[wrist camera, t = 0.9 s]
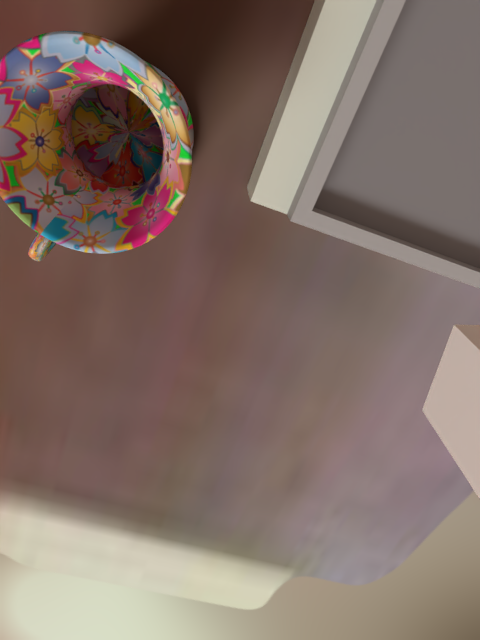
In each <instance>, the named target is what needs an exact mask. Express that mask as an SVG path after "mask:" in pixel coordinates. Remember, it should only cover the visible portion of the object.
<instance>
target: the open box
mask: <svg viewBox="0 0 480 640" xmlns="http://www.w3.org/2000/svg"><path fill="white" fill-rule="evenodd" d="M247 189H248V193H249V197H250V201H252V202H254V203H257V204H260V205H263V206H265V207H268V208H271V209H274V210H277V211H279V212H282V213H285V214H287V215H288V217H289V219H290V221H292V222H295V223H297V224H300V225H303V226H306V227H309V228H311V229H314V230H317V231H320V232H323V233H325V234H328V235H331V236H334V237H337V238H339V239H342V240H345V241H348V242H351V243H353V244H356V245H359V246H362V247H365V248H367V249H370V250H373V251H376V252H379V253H381V254H384V255H387V256H390V257H392V258H395V259H398V260H401V261H404V262H406V263H409V264H412V265H415V266H418V267H420V268H423V269H426V270H429V271H432V272H434V273H437V274H440V275H443V276H446V277H448V278H451V279H454V280H457V281H460V282H462V283H465V284H468V285H471V286H474V287H476V288H479V289H480V0H315V1H314V4H313V7H312V10H311V12H310V15H309V18H308V21H307V23H306V26H305V29H304V32H303V34H302V37H301V40H300V43H299V45H298V48H297V51H296V54H295V56H294V59H293V62H292V65H291V67H290V70H289V73H288V76H287V78H286V81H285V84H284V87H283V89H282V92H281V95H280V98H279V100H278V103H277V106H276V109H275V111H274V114H273V117H272V120H271V122H270V125H269V128H268V131H267V134H266V136H265V139H264V142H263V145H262V147H261V150H260V153H259V156H258V158H257V161H256V164H255V167H254V169H253V172H252V175H251V178H250V180H249V183H248V186H247Z"/></svg>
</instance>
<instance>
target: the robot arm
mask: <svg viewBox="0 0 480 640" xmlns="http://www.w3.org/2000/svg"><path fill="white" fill-rule="evenodd" d="M422 411H423V412H424V414H425V415H426V417H427V418H428V420H429V421H430V423H431V425H432V426H433V428H434V429H435V431H436V432H437V434H438V435H439V437H440V438H441V440H442V442H443V443H444V445H445V446H446V448H447V449H448V451H449V452H450V454H451V455H452V457H453V459H454V460H455V462H456V463H457V465H458V466H459V468H460V469H461V471H462V472H463V474H464V476H465V477H466V479H467V480H468V482H469V483H470V485H471V486H472V488H473V489H474V491H475V493H476V494H477V496H478V497H479V499H480V325H454V326H453V329H452V332H451V334H450V337H449V340H448V342H447V345H446V348H445V350H444V353H443V356H442V358H441V361H440V364H439V366H438V369H437V372H436V375H435V377H434V380H433V383H432V385H431V388H430V391H429V393H428V396H427V399H426V401H425V404H424V407H423V409H422Z"/></svg>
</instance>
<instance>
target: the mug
mask: <svg viewBox="0 0 480 640" xmlns="http://www.w3.org/2000/svg"><path fill="white" fill-rule="evenodd" d="M193 142H194V131H193V123H192V118H191V114H190V111H189V108H188V106H187V103H186V101H185V99H184V97H183V95H182V94H181V92H180V91H179V89H178V88H177V86H176V85H175V84H174V83H173V82H172V80H171V79H170V78H169V77H168V76H167V75H165V74H164V73H163V72H162V71H161V70H159V69H158V68H156V67H155V66H153V65H152V64H150V63H148V62H146V61H143V60H142V59H141V58H140V57H138V56H137V55H136V54H134V53H133V52H131V51H130V50H128V49H127V48H125V47H123V46H121V45H119V44H117V43H115V42H113V41H111V40H108V39H106V38H103V37H101V36H97V35H93V34H89V33H84V32H77V31H59V32H51V33H46V34H41V35H38V36H35V37H32V38H30V39H28V40H26V41H24V42H22V43H21V44H19V45H17V46H16V47H14V48H13V49H12V50H11V51H9V52H8V53H7V54H6V55H5V56H4V57H3V58H2V59H1V60H0V195H1V197H2V198H3V200H4V201H5V202H6V204H7V205H8V206H9V207H10V209H11V210H12V211H13V212H14V213H15V214H16V215H17V216H18V217H19V218H20V219H21V220H22V221H23V222H24V223H26V224H27V225H28V226H29V227H30V228H32V229H33V230H34V231H36V232H37V233H38V234H37V235H36V237H35V239H34V240H33V242H32V244H31V246H30V248H29V251H28V255H29V256H30V257H31V258H32V259H34V260H36V261H41V260H43V259H44V258H45V257H46V256H47V254H48V253H49V252H50V251H51V250H52V248H53V247H54V246H55V245H56V243H57V244H59V245H62V246H65V247H67V248H70V249H74V250H77V251H83V252H88V253H116V252H122V251H126V250H130V249H133V248H136V247H138V246H141V245H143V244H145V243H147V242H148V241H150V240H151V239H153V238H155V237H156V236H157V235H158V234H160V233H161V232H162V231H163V230H164V229H165V228H166V227H167V226H168V225H169V224H170V223H171V221H172V220H173V219H174V218H175V216H176V215H177V213H178V211H179V210H180V208H181V206H182V204H183V202H184V199H185V197H186V194H187V191H188V187H189V183H190V177H191V169H192V150H193Z"/></svg>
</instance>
